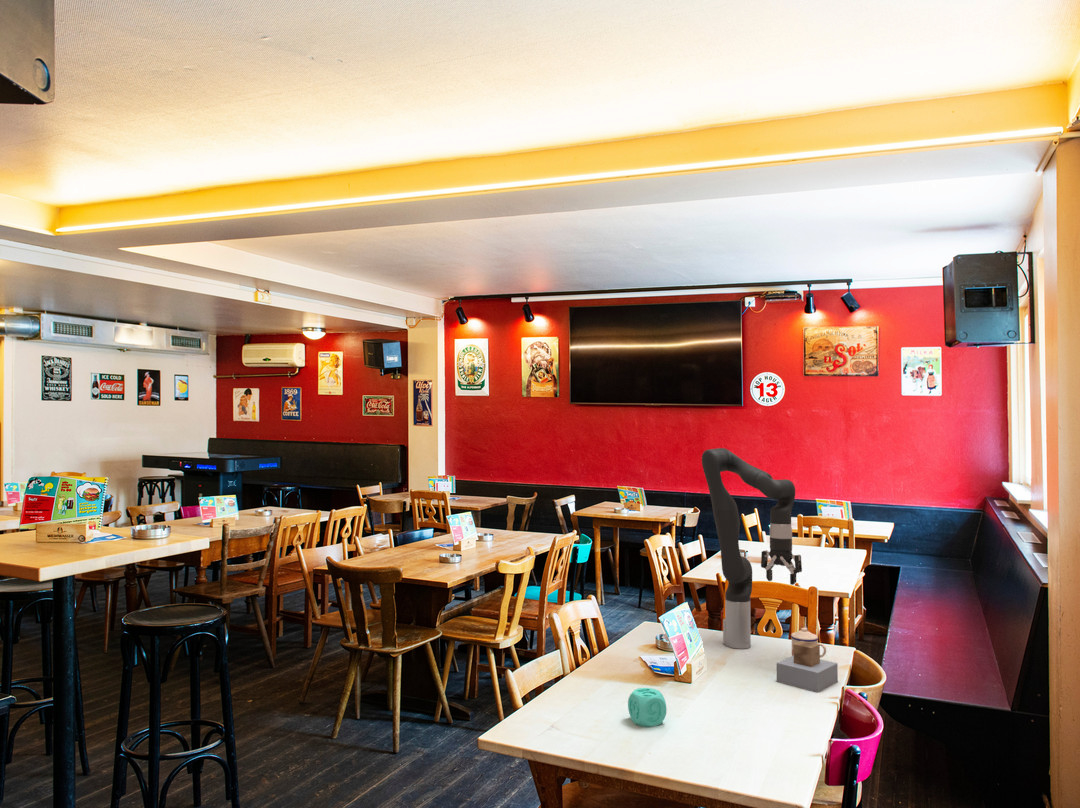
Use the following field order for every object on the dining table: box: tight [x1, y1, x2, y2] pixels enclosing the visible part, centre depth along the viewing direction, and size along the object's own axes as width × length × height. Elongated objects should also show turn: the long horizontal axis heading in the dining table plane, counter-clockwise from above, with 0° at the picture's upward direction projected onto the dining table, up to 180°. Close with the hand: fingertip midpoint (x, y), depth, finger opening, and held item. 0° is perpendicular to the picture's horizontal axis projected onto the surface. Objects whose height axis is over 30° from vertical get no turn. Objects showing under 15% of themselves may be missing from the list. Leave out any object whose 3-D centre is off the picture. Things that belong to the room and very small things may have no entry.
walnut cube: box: [794, 641, 821, 667], centre depth 240 cm, size 6×6×6 cm
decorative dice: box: [627, 687, 668, 728], centre depth 206 cm, size 8×8×8 cm
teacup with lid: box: [790, 627, 827, 659], centre depth 260 cm, size 12×9×12 cm
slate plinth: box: [775, 655, 839, 693], centre depth 240 cm, size 14×14×6 cm
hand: (781, 582), depth 260 cm, fingers open, 8 cm apart
